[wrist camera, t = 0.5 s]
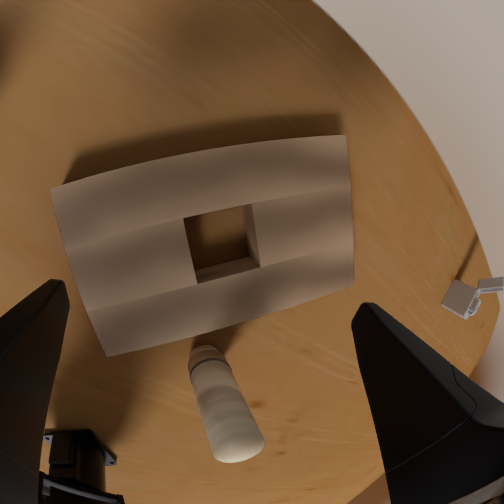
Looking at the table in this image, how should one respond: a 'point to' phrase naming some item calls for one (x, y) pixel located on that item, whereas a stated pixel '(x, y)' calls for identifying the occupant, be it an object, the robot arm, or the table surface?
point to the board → (176, 244)
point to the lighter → (469, 295)
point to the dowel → (223, 407)
